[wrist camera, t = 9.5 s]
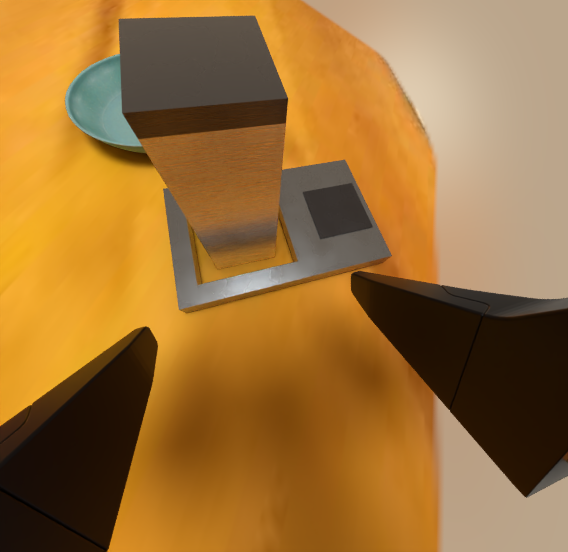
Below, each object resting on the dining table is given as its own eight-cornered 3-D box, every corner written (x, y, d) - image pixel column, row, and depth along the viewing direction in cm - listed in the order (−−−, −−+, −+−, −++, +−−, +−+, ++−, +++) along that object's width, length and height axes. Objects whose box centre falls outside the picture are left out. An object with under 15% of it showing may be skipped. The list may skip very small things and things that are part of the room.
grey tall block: (274, 257, 19) (287, 98, 7) (217, 269, 18) (122, 113, 6) (261, 211, 20) (254, 15, 8) (209, 220, 19) (118, 18, 8)
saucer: (242, 153, 23) (239, 129, 20) (93, 184, 20) (68, 160, 17) (209, 71, 27) (203, 42, 24) (82, 86, 24) (61, 56, 22)
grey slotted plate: (382, 262, 19) (392, 255, 18) (186, 313, 16) (178, 309, 15) (340, 171, 22) (345, 158, 21) (170, 200, 20) (162, 188, 18)
